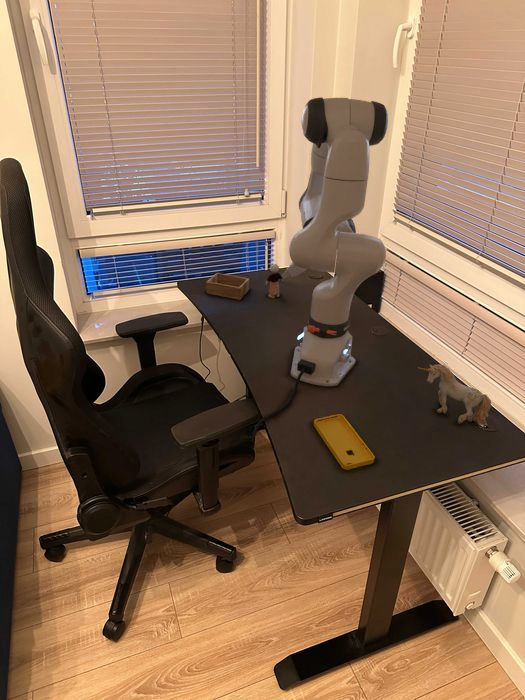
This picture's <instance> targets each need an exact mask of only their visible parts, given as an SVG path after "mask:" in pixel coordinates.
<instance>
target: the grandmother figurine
mask: <svg viewBox="0 0 525 700" xmlns="http://www.w3.org/2000/svg"><path fill="white" fill-rule="evenodd" d="M269 269H270V272H271V274H269V275H268V277H267V278H266V281H265V283H264V285H265V286H268V285H269V290H268V292H269V294H268V297H269V298H271V299H274V298H278V297H280V283H284V278H283V277H282V274H281V273H279V271H280V267H279V264H278V263H273V264H271V265H270V267H269ZM279 281H280V283H279Z"/></svg>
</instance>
